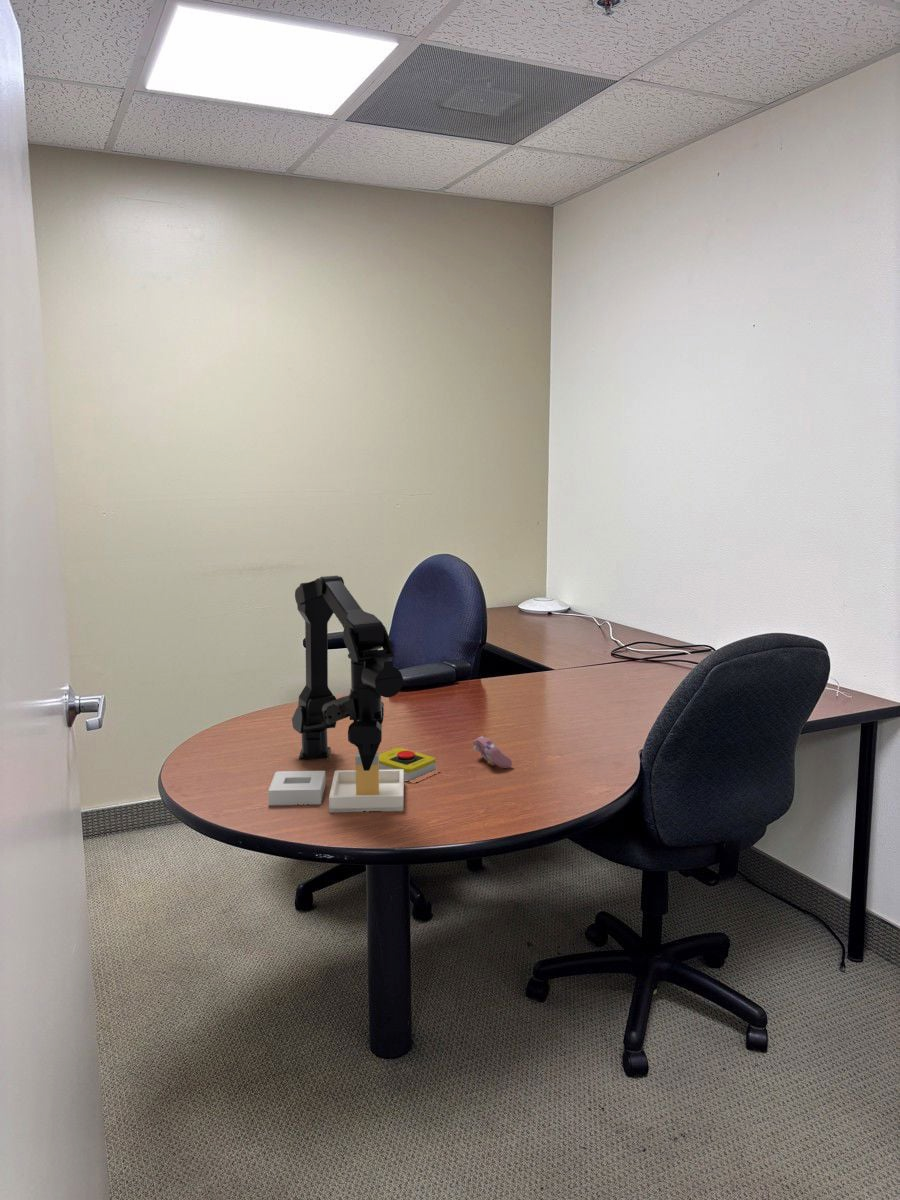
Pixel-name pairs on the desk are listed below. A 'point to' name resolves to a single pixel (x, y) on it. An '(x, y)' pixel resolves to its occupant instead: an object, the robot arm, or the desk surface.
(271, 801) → the white slotted block
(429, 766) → the emergency button
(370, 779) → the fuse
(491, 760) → the video game controller
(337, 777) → the parts tray
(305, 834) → the desk surface
